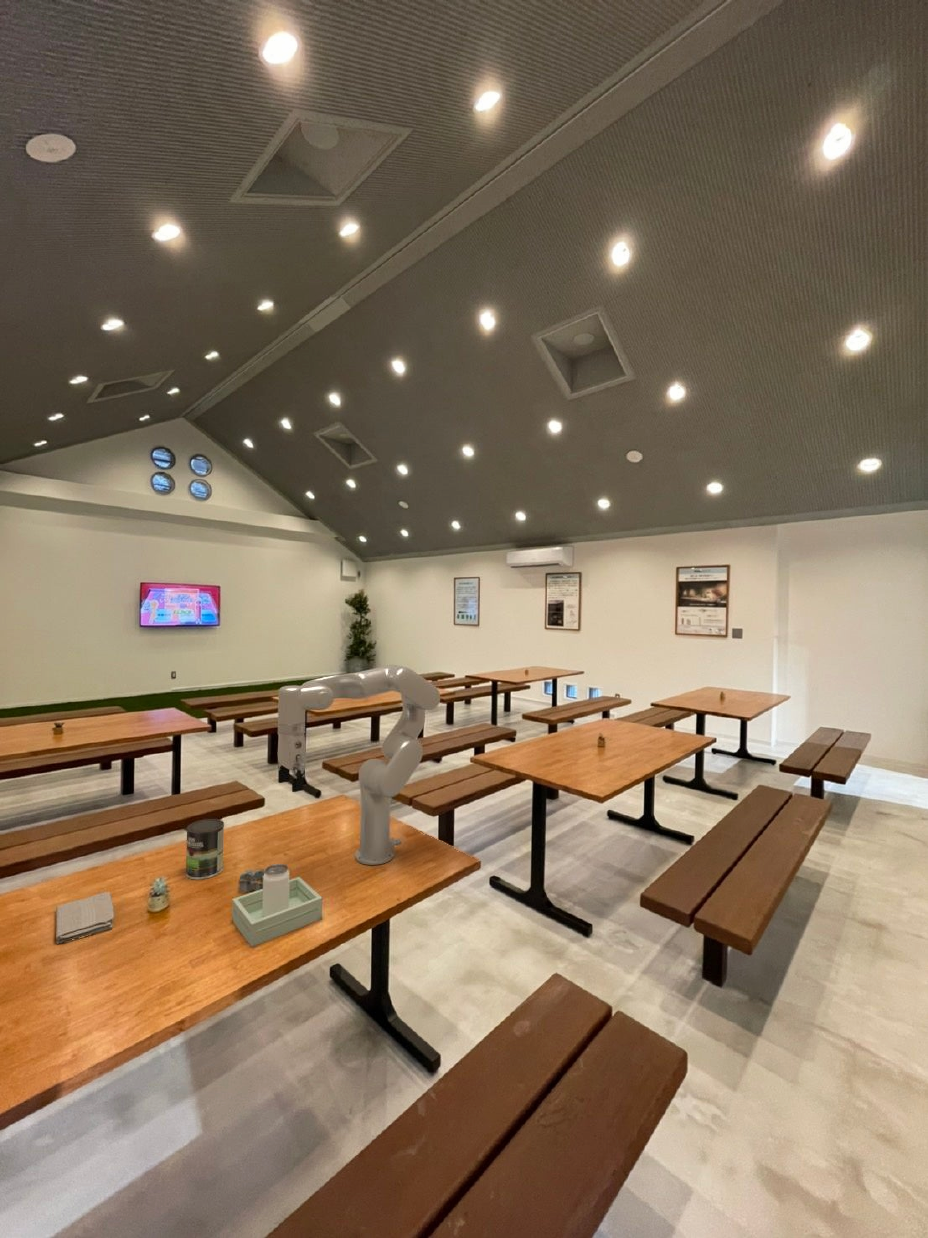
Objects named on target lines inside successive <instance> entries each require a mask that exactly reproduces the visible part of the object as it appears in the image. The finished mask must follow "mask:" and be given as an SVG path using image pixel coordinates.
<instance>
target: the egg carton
mask: <svg viewBox="0 0 928 1238" xmlns="http://www.w3.org/2000/svg"><path fill="white" fill-rule="evenodd" d="M265 869H266V868H262V869H256V870H253V869H247V870H245V871H244V872H242V873H240V875H239V879H238V880H239V881H238V883H237V884H238V893H242V894H248V892H250V891H254V892H255V891H258V890H261V889H263V876H264V874H265ZM258 881H259V882H258Z"/></svg>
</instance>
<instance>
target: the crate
mask: <svg viewBox="0 0 928 1238" xmlns="http://www.w3.org/2000/svg"><path fill="white" fill-rule="evenodd" d="M322 919H323V897H322V896H321V895H320V894H319V893H318V892H317V891H315V890H314V889H313V888H312V887H311V886H310V885H309V884H308V883H307V882H305V881H304V880H303V878H301V877H300V876H298V877H295V878H291V879H289V908H288V909H285V910H282V911H280V912H277V913H274V914H272V915H269V916H266V917H264V918H263V889H261V890H258V891H255V890H254V891H252V892H250V893H245V894H243V895H241V896H237V897H235V898H232V900H231V921H232V923H233V924H234V925H235V927H236V928H237V929H238V931H239V932H240V933H241V935H242V937H243V938H244V940H246V942H247V943H248V944H249V946H250V947H251V948H253V947H255V946H259V945H260V944H264V943H265V942H268V941H270V940H273V939H276V938H278V937H281V936H283V935H285V934H288V933H291V932H293V931H295V930H298V929H301V928H302V927H306V926H308V925H310V924H312V923H313V924H314V923H315V922H319V921H320V920H322Z"/></svg>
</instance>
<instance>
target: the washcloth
mask: <svg viewBox="0 0 928 1238" xmlns="http://www.w3.org/2000/svg"><path fill="white" fill-rule="evenodd" d="M114 910H115V909H114V904H113V899H112V898H111V893H110V891H104V892H102V893H97V894H94V895H92V896H89V897H86V898H83V899H78V900H76V899H75V900H73V901H70V902H69V901H68V902H67V903H62V904H59V905H57V906H56V909H55V917H56V919H55V921H56V923H55V926H56V928H55V938H56V945H57V944H59V943H60V944H62V943H63V942H64V944H65V942H66V943H69V942H68V941H70V940H72V939H78V938H79V937H82V936H86V935H89V934H94V935H98V934H100V933H104V932H107V931H110V930H112V929H113V928H114V919H115V914H114ZM78 940H79V939H78ZM60 944H59V945H60Z"/></svg>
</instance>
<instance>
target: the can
mask: <svg viewBox="0 0 928 1238" xmlns="http://www.w3.org/2000/svg"><path fill="white" fill-rule="evenodd" d="M264 869H265V874H264V876H263V898H262V899H263V918H264V917H266V916H269V915H272V914H274V913H277V912H280V911H282V910H285V909H288V908H289V890H290V889H289V880H290V871H289V866H288V865H286V864H283V863H276V864H275V863H274V864H272V865H269V866H268V867H266V868H264Z"/></svg>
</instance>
